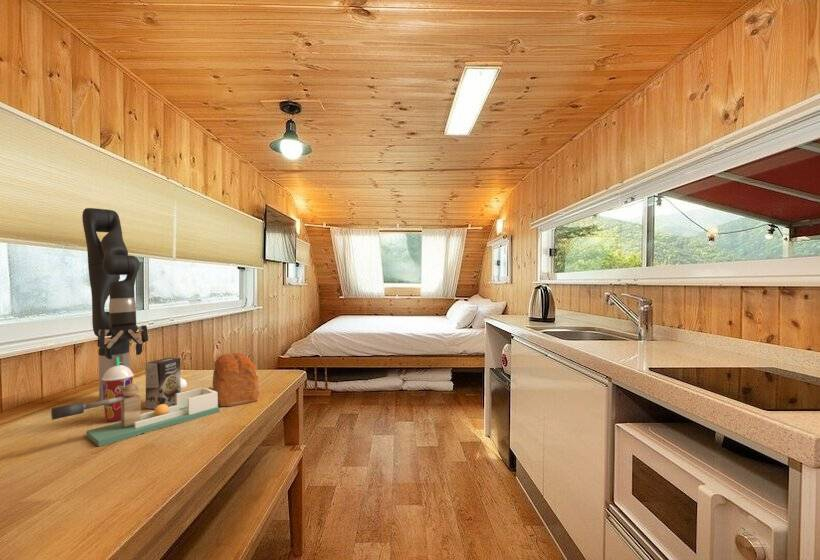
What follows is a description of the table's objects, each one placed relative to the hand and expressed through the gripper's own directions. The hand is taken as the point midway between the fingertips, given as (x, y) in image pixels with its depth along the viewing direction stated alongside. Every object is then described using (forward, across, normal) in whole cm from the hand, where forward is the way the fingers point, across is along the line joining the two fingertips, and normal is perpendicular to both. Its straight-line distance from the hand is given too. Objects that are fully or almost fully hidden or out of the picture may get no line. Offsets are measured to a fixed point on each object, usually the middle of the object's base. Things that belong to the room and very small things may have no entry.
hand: (124, 356), depth 131 cm
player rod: (+17, +15, +26) cm, 34 cm away
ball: (+15, 0, +26) cm, 31 cm away
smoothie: (+18, +6, +11) cm, 22 cm away
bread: (+19, -28, +20) cm, 40 cm away
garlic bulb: (+18, -21, -10) cm, 29 cm away
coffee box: (+18, -8, +9) cm, 22 cm away
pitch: (+19, +1, +26) cm, 32 cm away
